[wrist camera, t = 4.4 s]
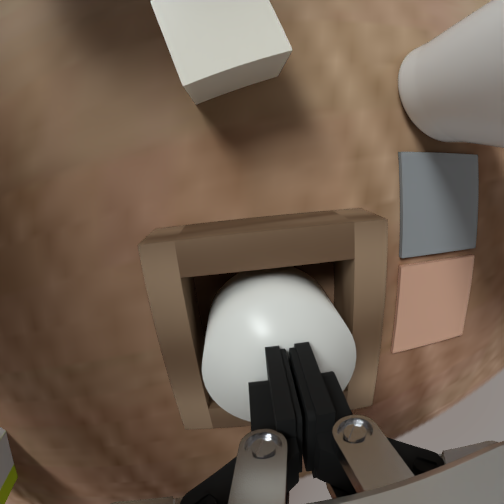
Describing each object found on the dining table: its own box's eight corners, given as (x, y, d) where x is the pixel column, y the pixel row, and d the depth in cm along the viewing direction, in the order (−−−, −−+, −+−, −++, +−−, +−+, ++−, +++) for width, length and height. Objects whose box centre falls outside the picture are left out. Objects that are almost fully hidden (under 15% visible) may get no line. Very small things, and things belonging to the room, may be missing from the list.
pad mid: (398, 151, 15) (401, 151, 14) (474, 154, 15) (477, 154, 14) (399, 256, 16) (401, 258, 16) (472, 246, 16) (475, 247, 16)
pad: (398, 265, 16) (401, 267, 16) (471, 254, 16) (474, 255, 16) (390, 350, 18) (392, 353, 17) (459, 332, 18) (461, 334, 18)
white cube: (169, 36, 13) (150, 1, 9) (247, 9, 12) (252, -32, 8) (196, 105, 14) (182, 86, 10) (277, 76, 13) (292, 50, 10)
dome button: (199, 271, 15) (188, 310, 11) (329, 257, 15) (360, 290, 11) (217, 376, 16) (215, 429, 13) (329, 362, 17) (350, 411, 13)
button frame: (154, 229, 15) (137, 245, 12) (361, 208, 15) (387, 219, 12) (190, 394, 18) (185, 429, 15) (355, 374, 18) (371, 405, 15)
